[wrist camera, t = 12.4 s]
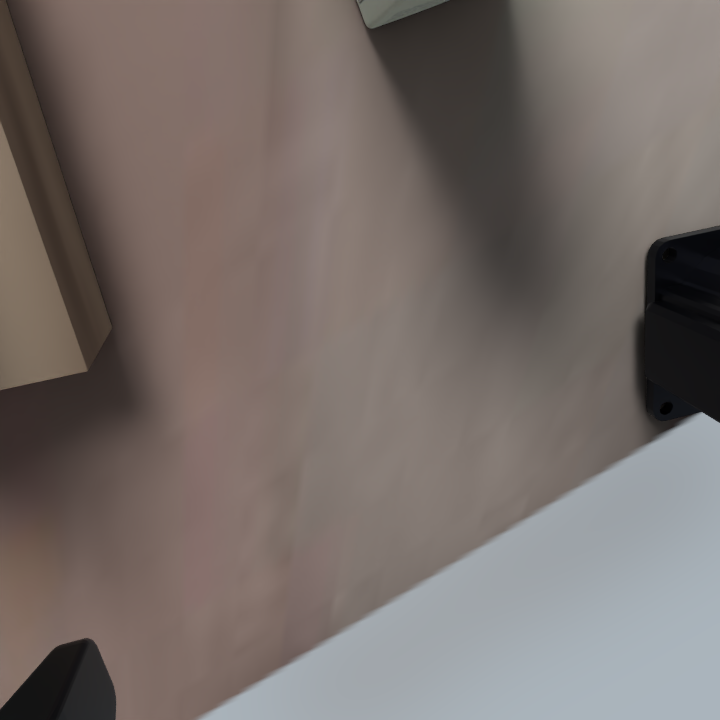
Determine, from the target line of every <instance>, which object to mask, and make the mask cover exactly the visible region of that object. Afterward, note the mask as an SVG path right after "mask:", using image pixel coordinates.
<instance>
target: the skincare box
mask: <svg viewBox="0 0 720 720" xmlns="http://www.w3.org/2000/svg"><path fill="white" fill-rule="evenodd" d="M446 1H449V0H357V3H358V5H359V8H360V11H361V14H362V16H363V19H364V22H365V24H366V26H367V27H368V28H372V29H373V28H376V27H379V26H381V25H384V24H387V23H390V22H393V21H396V20H398V19H401V18H404V17H407V16H409V15H412V14H415V13H417V12H420V11H423V10H426V9H428V8H431V7H433V6H436V5H438V4H441V3H444V2H446Z"/></svg>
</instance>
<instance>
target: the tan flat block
mask: <svg viewBox="0 0 720 720" xmlns="http://www.w3.org/2000/svg"><path fill="white" fill-rule="evenodd" d="M111 329H112V326H111V322H110V319H109V316H108V313H107V310H106V307H105V304H104V301H103V298H102V295H101V292H100V289H99V286H98V282H97V279H96V276H95V273H94V270H93V267H92V264H91V261H90V258H89V255H88V252H87V249H86V246H85V242H84V239H83V236H82V233H81V230H80V227H79V224H78V221H77V218H76V215H75V212H74V209H73V206H72V203H71V199H70V196H69V193H68V190H67V187H66V184H65V181H64V178H63V175H62V172H61V169H60V166H59V163H58V159H57V156H56V153H55V150H54V147H53V144H52V141H51V138H50V135H49V132H48V129H47V126H46V123H45V119H44V116H43V113H42V110H41V107H40V104H39V101H38V98H37V95H36V92H35V89H34V86H33V83H32V79H31V76H30V73H29V70H28V67H27V64H26V61H25V58H24V55H23V52H22V49H21V46H20V43H19V40H18V36H17V33H16V30H15V27H14V24H13V21H12V18H11V15H10V12H9V9H8V6H7V3H6V0H0V390H3V389H8V388H12V387H17V386H22V385H26V384H31V383H35V382H40V381H45V380H49V379H54V378H59V377H63V376H68V375H73V374H77V373H82V372H87V371H88V370H89V368H90V367H91V365H92V363H93V361H94V359H95V358H96V356H97V354H98V352H99V350H100V349H101V347H102V345H103V343H104V342H105V340H106V338H107V336H108V334H109V333H110V331H111Z"/></svg>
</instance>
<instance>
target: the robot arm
mask: <svg viewBox="0 0 720 720" xmlns="http://www.w3.org/2000/svg"><path fill="white" fill-rule="evenodd" d="M666 249H669V254H668V256H667V258H666V259H664V260H663V258H662V256H663V253H664V251H665V250H666ZM645 376H646V377H647V400H646V407H647V411H648V413H649V414H650V415H652V416H653V417H654V418H656V419H658V420H660V421H667V420H671V419H674V418H678V417H682V416H686V415H690V414H694V413H698V412H703V413H705V414H706V415H708V416H710V417H711V418H713V419H715V420H716V421H718V422H719V423H720V226H715V227H711V228H706V229H701V230H697V231H692V232H687V233H683V234H678V235H673V236H669V237H664V238H661V239H658V240H656V241H655V242H654V243H653V244H652V245H651V247H650V249H649V252H648V288H647V309H646V311H645ZM665 402H666V403H665ZM663 403H665V406H664V407H663V408H662V409H660V406H661V405H662V404H663ZM115 719H116V695H115V690H114V686H113V683H112V680H111V678H110V676H109V673H108V671H107V669H106V666H105V664H104V661H103V659H102V657H101V654H100V652H99V649H98V647H97V645H96V644H95V642H94V641H93V640H91V639H88V638H84V639H81V640H77V641H73V642H69V643H66V644H62V645H59V646H57V647H56V648H54V649H53V650H52V651H51V652H50V653H49V655H48V656H47V657H46V658H45V659H44V660H43V661H42V663H41V664H40V665H39V666H38V667H37V668H36V669H35V671H34V672H33V673H32V674H31V675H30V676H29V677H28V679H27V680H26V681H25V682H24V683H23V684H22V685H21V686H20V688H19V689H18V690H17V691H16V692H15V693H14V694H13V696H12V697H11V698H10V699H9V700H8V701H7V702H6V704H5V705H4V706H3V707H2V708H1V709H0V720H115Z"/></svg>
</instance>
